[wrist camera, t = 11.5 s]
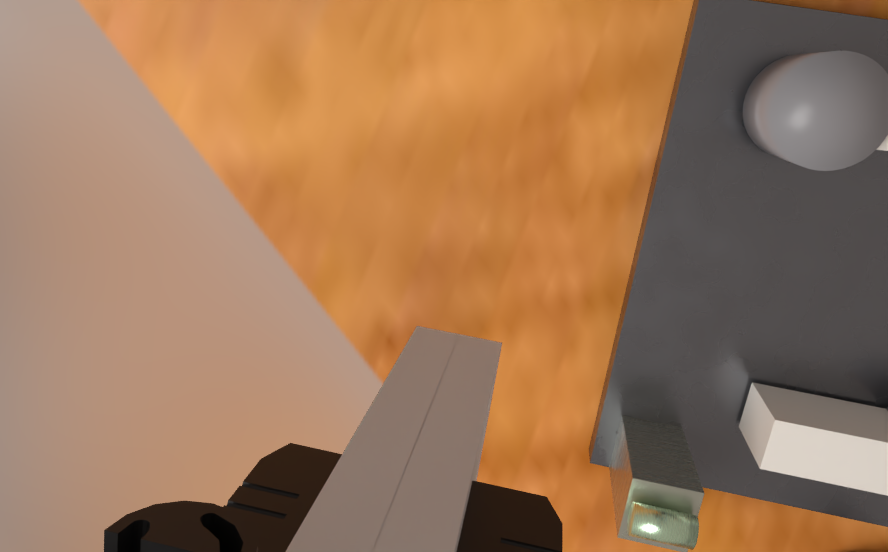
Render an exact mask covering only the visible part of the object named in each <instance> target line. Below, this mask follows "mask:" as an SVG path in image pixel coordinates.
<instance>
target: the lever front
mask: <svg viewBox="0 0 888 552" xmlns="http://www.w3.org/2000/svg"><path fill="white" fill-rule="evenodd" d="M743 121H744V125H745V128H746V131H747V133H748V135H749V137H750V138H751V140H752V141H753V142H754V143H755V144H756V145H757V146H758V147H759V148H760V149H762V150H763V151H765V152H767V153H769V154H771V155H773V156H776V157H778V158H781V159H784V160H786V161H789V162H792V163H794V164H797V165H799V166H802V167H805V168H808V169H812V170H818V171H833V170H839V169H843V168H846V167H850V166H852V165H854V164H856V163H858V162H860V161H862V160H864V159H865V158H867V157H868V156H869V155H871V154H872V153H873V152H874V151H875V150H884V151H888V74H887V72H886V71H885V70H884V69H883V67H881V66H880V65H879V64H878V63H877V62H876V61H874V60H873V59H871V58H869V57H867V56H865V55H863V54H860V53H856V52H851V51H829V52H818V53H807V54H796V55H790V56H786V57H784V58H781V59H779V60H777V61H774V62H773V63H771V64H770V65H768V66H767V67H765V68H764V69H763V70H762V71H761V72H760V73H759V74H758V75H757V76H756V77H755V79H754V80H753V81H752V83H751V85H750V86H749V88H748V90H747V93H746V95H745V99H744V103H743Z"/></svg>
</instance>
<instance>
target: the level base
mask: <svg viewBox="0 0 888 552" xmlns="http://www.w3.org/2000/svg"><path fill="white" fill-rule="evenodd" d="M829 51H851V52H856V53H860V54H863V55H865V56H867V57H869V58H871V59H873V60H874V61H876V62H877V63H878V64H879V65H880V66H881V67H883V69H884V70H885V71H886V72H887V74H888V20H885V19H878V18H871V17H864V16H857V15H850V14H843V13H836V12H829V11H822V10H815V9H808V8H801V7H794V6H787V5H780V4H773V3H765V2H758V1H751V0H694V2H693V6H692V11H691V15H690V19H689V23H688V28H687V32H686V36H685V40H684V45H683V49H682V53H681V58H680V62H679V66H678V70H677V75H676V79H675V83H674V88H673V92H672V96H671V100H670V105H669V109H668V113H667V117H666V122H665V126H664V130H663V135H662V139H661V143H660V147H659V152H658V156H657V160H656V164H655V169H654V173H653V177H652V182H651V186H650V190H649V194H648V199H647V203H646V207H645V211H644V216H643V220H642V224H641V229H640V233H639V237H638V241H637V246H636V250H635V254H634V258H633V263H632V267H631V271H630V276H629V280H628V284H627V288H626V293H625V297H624V301H623V305H622V310H621V314H620V318H619V323H618V327H617V331H616V335H615V340H614V344H613V348H612V353H611V357H610V361H609V365H608V370H607V374H606V378H605V382H604V387H603V391H602V395H601V400H600V404H599V408H598V412H597V417H596V421H595V425H594V429H593V434H592V438H591V442H590V447H589V456H590V463H593V464H597V465H602V466H607V467H609V469H610V477H611V486H612V494H613V503H614V511H615V520H616V528H617V537H618V538H623V539H627V540H632V541H636V542H640V543H645V544H649V545H654V546H658V547H663V548H667V549H672V550H676V551H681V552H687V551H688V549H691V550H693V549H694V547H695V545H696V542H697V538H698V530H699V523H698V518H697V517H698V513H699V510H700V506H701V503H702V499H703V496H704V491H703V488H702V487H705V488H709V489H714V490H719V491H723V492H728V493H733V494H737V495H742V496H747V497H751V498H756V499H761V500H765V501H770V502H775V503H779V504H784V505H789V506H793V507H798V508H803V509H807V510H812V511H817V512H821V513H826V514H831V515H835V516H840V517H844V518H849V519H854V520H858V521H863V522H868V523H872V524H877V525H882V526H886V527H888V496H887V495H882V494H877V493H873V492H868V491H863V490H858V489H854V488H849V487H844V486H839V485H835V484H830V483H825V482H820V481H816V480H811V479H806V478H801V477H797V476H792V475H787V474H782V473H777V472H773V471H768V470H763V469H760V468H759V466H758V464H757V462H756V460H755V458H754V456H753V454H752V452H751V450H750V448H749V446H748V444H747V442H746V440H745V438H744V436H743V434H742V432H741V430H740V428H739V424H740V421H741V417H742V414H743V411H744V407H745V404H746V401H747V397H748V394H749V391H750V387H751V384H752V382H753V383H758V384H763V385H768V386H773V387H778V388H783V389H788V390H793V391H799V392H804V393H809V394H814V395H819V396H824V397H829V398H834V399H839V400H844V401H849V402H854V403H859V404H864V405H869V406H874V407H879V408H885V409H886V408H887V407H888V151H884V150H875V151H874V152H873V153H872V154H871V155H869V156H868V157H867V158H865V159H864V160H862V161H860V162H858V163H856V164H854V165H852V166H850V167H846V168H843V169H839V170H833V171H818V170H812V169H808V168H805V167H802V166H799V165H797V164H794V163H792V162H789V161H786V160H784V159H781V158H778V157H776V156H773V155H771V154H769V153H767V152H765V151H763V150H762V149H760V148H759V147H758V146H757V145H756V144H755V143H754V142H753V141H752V140H751V138H750V137H749V135H748V133H747V131H746V128H745V125H744V121H743V103H744V99H745V95H746V93H747V90H748V88H749V86H750V85H751V83H752V81H753V80H754V79H755V77H756V76H757V75H758V74H759V73H760V72H761V71H762V70H763V69H764V68H765V67H767V66H768V65H770V64H771V63H773V62H774V61H777V60H779V59H781V58H784V57H786V56H790V55H796V54H807V53H818V52H829Z"/></svg>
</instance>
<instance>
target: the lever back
mask: <svg viewBox="0 0 888 552" xmlns="http://www.w3.org/2000/svg"><path fill="white" fill-rule="evenodd" d="M739 428H740V430H741V432H742V434H743V436H744V438H745V440H746V442H747V444H748V446H749V448H750V450H751V452H752V454H753V456H754V458H755V460H756V462H757V464H758V466H759V468H760V469H763V470H768V471H773V472H777V473H782V474H787V475H792V476H797V477H801V478H806V479H811V480H816V481H820V482H825V483H830V484H835V485H839V486H844V487H849V488H854V489H858V490H863V491H868V492H873V493H877V494H882V495H887V496H888V407H887V408H886V409H885V408H879V407H874V406H869V405H864V404H859V403H854V402H849V401H844V400H839V399H834V398H829V397H824V396H819V395H814V394H809V393H804V392H799V391H793V390H788V389H783V388H778V387H773V386H768V385H763V384H758V383H753V382H752V384H751V387H750V391H749V394H748V397H747V401H746V404H745V407H744V411H743V414H742V417H741V421H740V424H739Z"/></svg>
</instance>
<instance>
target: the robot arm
mask: <svg viewBox="0 0 888 552" xmlns="http://www.w3.org/2000/svg"><path fill="white" fill-rule="evenodd" d="M501 346H502V343H500V342H495V341H490V340H485V339H480V338H475V337H470V336H465V335H460V334H455V333H450V332H445V331H440V330H435V329H430V328H425V327H420V326H417V327H416V329H415V330H414V332H413V334H412V336H411V337H410V339H409V341H408V342H407V344H406V346H405V348H404V349H403V351H402V353H401V354H400V356H399V358H398V360H397V361H396V363H395V365H394V366H393V368H392V370H391V372H390V373H389V375H388V377H387V378H386V380H385V382H384V384H383V385H382V387H381V389H380V390H379V392H378V394H377V396H376V397H375V399H374V401H373V402H372V404H371V406H370V408H369V409H368V411H367V413H366V415H365V416H364V418H363V420H362V421H361V423H360V425H359V427H358V428H357V430H356V432H355V433H354V435H353V437H352V438H351V440H350V442H349V444H348V445H347V447H346V449H345V450H344V452H343V454H337V453H333V452H329V451H324V450H320V449H315V448H310V447H306V446H302V445H297V444H293V443H290V444H288V445H286V446H284V447H282V448H280V449H278V450H277V451H275V452H273V453H271V454H269V455H267V456H266V457H264V458H262V459H261V460H260V461H259V462H258V464H257V465H256V466H255V467H254V468H253V470H252V471H251V472H250V474H249V475H248V476H247V477H246V479H245V480H244V481H243V485H242V486H239V488H238V489H237V490H236V491H235V493H234V494H233V495H232V497H231V498H230V499H229V500H228V504H227V506H224V507H220V506H217V505H215V504H211V503H202V502H192V501H178V502H170V503H162V504H155V505H152V506H149V507H147V508H143V509H141V510H138V511H135V512H132V513H130V514H127V515H125V516H124V517H123V518H121V519H120V520H118V521H117V522H116V523H114V524H113V525H111V526H110V527H108V528H107V529H106V530H105V531H104V552H562V522H561V521H560V519H559V517H558V515H557V514H556V512H555V510H554V509H553V507H552V505H551V503H550V502H549V500H548V498H547V497H545V496H540V495H536V494H531V493H527V492H522V491H518V490H513V489H509V488H504V487H500V486H495V485H491V484H486V483H481V482H477V481H476V480H477V475H478V469H479V464H480V459H481V453H482V448H483V443H484V437H485V432H486V426H487V421H488V416H489V410H490V405H491V400H492V394H493V389H494V383H495V378H496V373H497V367H498V362H499V357H500V351H501Z"/></svg>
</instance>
